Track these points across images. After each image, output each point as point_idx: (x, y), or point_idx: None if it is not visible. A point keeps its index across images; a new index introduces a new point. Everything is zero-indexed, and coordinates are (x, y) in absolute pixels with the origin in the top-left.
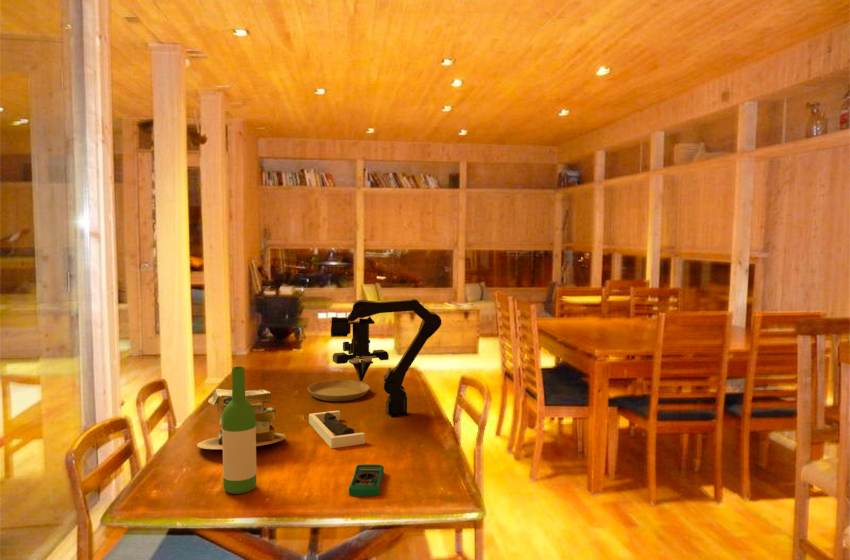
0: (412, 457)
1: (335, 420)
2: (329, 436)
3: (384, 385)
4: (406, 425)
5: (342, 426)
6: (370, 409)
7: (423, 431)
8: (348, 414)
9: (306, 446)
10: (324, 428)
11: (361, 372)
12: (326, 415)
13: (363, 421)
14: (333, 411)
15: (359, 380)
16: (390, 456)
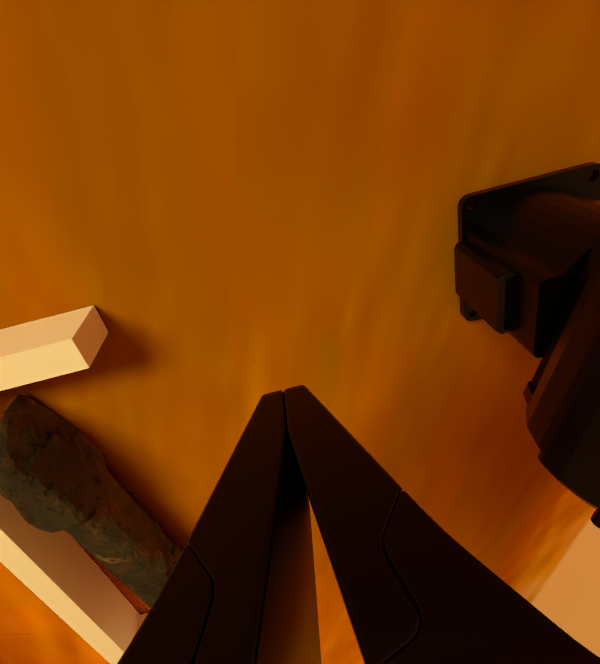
0: None
1: (96, 541)
2: (108, 660)
3: (554, 474)
4: (478, 441)
5: (151, 601)
6: (363, 60)
7: (511, 506)
8: (159, 193)
9: (21, 617)
10: (60, 606)
11: (313, 643)
12: (13, 504)
13: (269, 367)
14: (32, 361)
15: (265, 406)
16: (323, 656)
